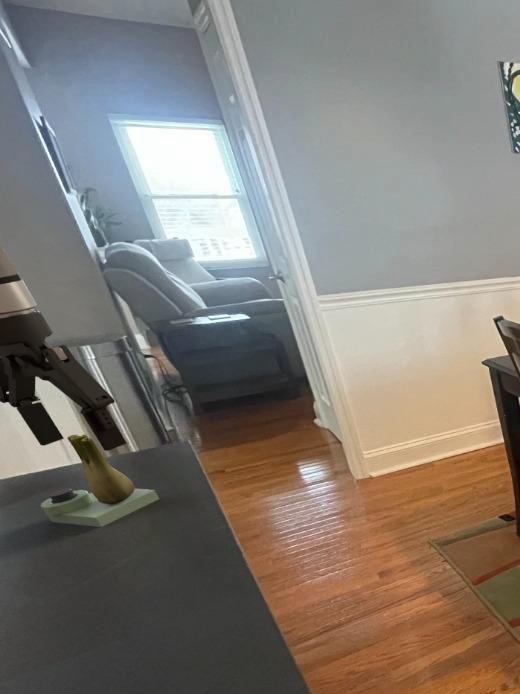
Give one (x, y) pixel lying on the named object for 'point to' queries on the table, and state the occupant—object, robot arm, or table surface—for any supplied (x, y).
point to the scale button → (62, 495)
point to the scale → (95, 508)
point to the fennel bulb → (101, 472)
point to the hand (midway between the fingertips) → (83, 444)
